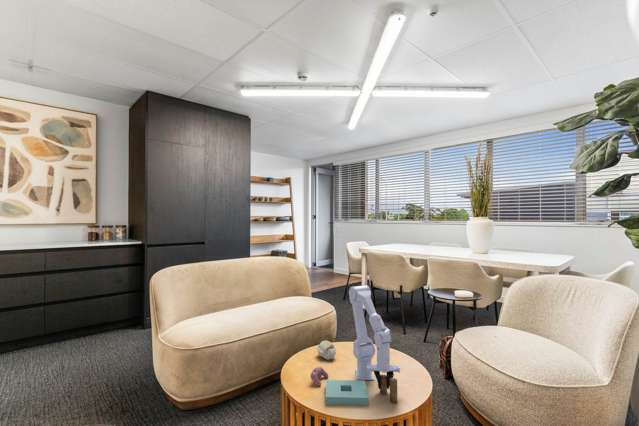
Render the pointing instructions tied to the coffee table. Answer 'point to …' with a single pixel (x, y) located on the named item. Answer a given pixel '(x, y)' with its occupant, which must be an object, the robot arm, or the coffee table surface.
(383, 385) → the short pin
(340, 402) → the block
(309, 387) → the coffee table surface
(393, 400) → the tall pin
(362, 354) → the robot arm
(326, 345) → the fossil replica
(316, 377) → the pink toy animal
